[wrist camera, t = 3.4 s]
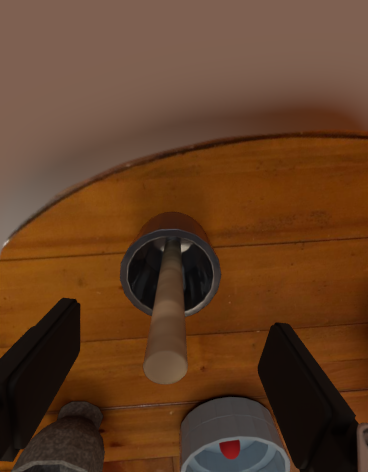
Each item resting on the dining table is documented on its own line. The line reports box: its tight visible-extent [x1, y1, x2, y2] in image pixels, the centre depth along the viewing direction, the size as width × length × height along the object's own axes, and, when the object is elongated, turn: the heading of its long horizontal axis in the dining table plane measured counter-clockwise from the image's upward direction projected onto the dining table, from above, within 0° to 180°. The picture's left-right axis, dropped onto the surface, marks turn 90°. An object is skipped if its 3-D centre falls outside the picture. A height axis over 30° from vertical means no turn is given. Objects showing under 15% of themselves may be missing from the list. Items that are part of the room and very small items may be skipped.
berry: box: [219, 440, 240, 459], centre depth 29 cm, size 3×3×3 cm
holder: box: [120, 212, 221, 317], centre depth 19 cm, size 8×8×7 cm
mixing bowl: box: [179, 397, 290, 472], centre depth 28 cm, size 14×14×5 cm
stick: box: [143, 240, 188, 384], centre depth 15 cm, size 2×2×14 cm
